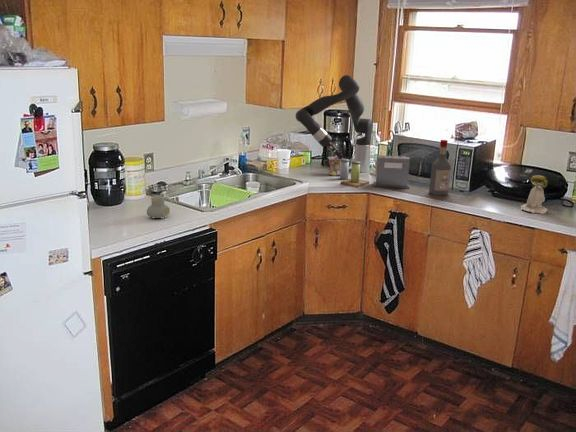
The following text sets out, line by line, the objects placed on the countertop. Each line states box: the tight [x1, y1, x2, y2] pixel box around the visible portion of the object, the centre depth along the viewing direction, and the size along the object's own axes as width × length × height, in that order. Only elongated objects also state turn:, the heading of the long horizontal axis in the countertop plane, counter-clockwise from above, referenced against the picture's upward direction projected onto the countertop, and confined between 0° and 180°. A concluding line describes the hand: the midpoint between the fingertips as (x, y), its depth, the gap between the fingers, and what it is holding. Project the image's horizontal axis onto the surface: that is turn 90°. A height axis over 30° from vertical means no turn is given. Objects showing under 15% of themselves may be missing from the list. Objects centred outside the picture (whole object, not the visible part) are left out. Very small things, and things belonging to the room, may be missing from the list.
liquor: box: [428, 139, 452, 196], centre depth 331 cm, size 9×9×30 cm
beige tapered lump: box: [520, 174, 548, 215], centre depth 305 cm, size 12×13×18 cm
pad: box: [340, 178, 370, 188], centre depth 351 cm, size 12×12×1 cm
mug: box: [323, 156, 344, 177], centre depth 369 cm, size 12×9×11 cm
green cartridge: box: [350, 160, 361, 183], centre depth 349 cm, size 5×5×12 cm
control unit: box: [373, 154, 411, 189], centre depth 346 cm, size 9×20×17 cm, turn 84°
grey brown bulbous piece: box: [146, 194, 171, 219], centre depth 281 cm, size 11×8×10 cm
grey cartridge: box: [339, 158, 350, 181], centre depth 360 cm, size 5×5×12 cm
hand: (341, 156), depth 345 cm, fingers open, 8 cm apart
